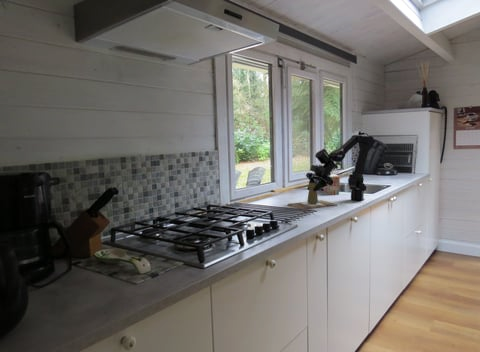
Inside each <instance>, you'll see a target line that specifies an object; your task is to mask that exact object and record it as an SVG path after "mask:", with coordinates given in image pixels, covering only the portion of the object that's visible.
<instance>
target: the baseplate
mask: <svg viewBox="0 0 480 352" xmlns="http://www.w3.org/2000/svg"><path fill="white" fill-rule="evenodd" d="M287 206H289V207H292V208H296V209H299V210H302V211H303V210H311V209H312V210H313V209H318V208H319V209H320V208H327V207H336V206H338V203H334V202H330V201H327V200H323V199H322V200H321V199H318V203H308V202H307V201H301V202H300V201H299V202H293V203H287Z"/></svg>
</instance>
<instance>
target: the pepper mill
mask: <svg viewBox="0 0 480 352" xmlns="http://www.w3.org/2000/svg"><path fill="white" fill-rule="evenodd" d="M316 183H317V182H316ZM316 183H309V182H308V185H307V188H309V190H308V193H307V194H308V195H307V201H306V202H308V203H318V200H319V199H318V198H319V197H318V190H317V191H314V188H315V186H316V185H317V184H316Z"/></svg>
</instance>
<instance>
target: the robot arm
mask: <svg viewBox="0 0 480 352" xmlns="http://www.w3.org/2000/svg"><path fill="white" fill-rule="evenodd" d="M357 144H358V147H359V153H358V156H357V159H356V163H355V167H354V171H353V173H352V174H349V175H348V179H347V184H348V187H349V190H351V192H350V201H357V202H362V201H364V200H365V198H364V194H365V191H367V185H365V183H364V175H363V173H364V170H365V165H366V161H367V158H368V155H369V151H371V149H372V148H373V146H374V144H375V139H374V137H373V136H371V135H361V134H353V135H351V137H350V138H349V139H347V141H346V142H345V143H343V144H342V145H341V146H340V147H338V148H337V149H335V150H332V151H331V152H330V153H328V151H327V150H326V148H322V149H321V150H318V152H316V153H315V158H316V159H317V161H319V163H320V164H321V165H320V164H318V165H315V164H314V165H313V164H312V165H311V166H310V169H309V171H310V172H307V173H306V174H305V177H306V178H307V179H308V180H309V182H308V184H309V183H316V184H317V185H316V186H315V188H314V191H317V192H318V190H321V189H323V187H325V186H328V185H330V186H332V185H333V183H334V181H333V180H332V178H331V177H330V175H331V173H332V171H333V170H334V169H335V170H337V169H338V168H339V166H338V164H337V163H341V162H343V160H344V159H345V158H346V154H347V153H348V152H349V151H350V150H352V148H354V147H355V145H357ZM313 172H314V173H313ZM328 175H329V176H328ZM317 181H318V182H317ZM327 184H328V185H327ZM307 190H308V191H309V188H308V187H307Z"/></svg>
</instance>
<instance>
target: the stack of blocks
mask: <svg viewBox="0 0 480 352" xmlns="http://www.w3.org/2000/svg"><path fill="white" fill-rule="evenodd" d="M330 174H331V173H330ZM328 176H329V175H328ZM330 177H331V178H332V180H333V181H334V183H333V185H332V186H330V185H328V184H327V185H328V186H325V187H323V188H322V189H323V191H324V192H325V193H327V194H328V195H329V196H330V195H333V196H334V195H335V196H337V195H338V196H339V195H340V184H341V183H340V180H341V176H339V175H337V174H333V173H332V174H331V175H330Z"/></svg>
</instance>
